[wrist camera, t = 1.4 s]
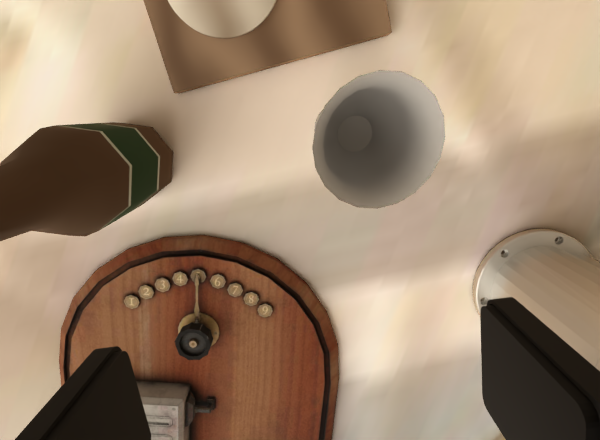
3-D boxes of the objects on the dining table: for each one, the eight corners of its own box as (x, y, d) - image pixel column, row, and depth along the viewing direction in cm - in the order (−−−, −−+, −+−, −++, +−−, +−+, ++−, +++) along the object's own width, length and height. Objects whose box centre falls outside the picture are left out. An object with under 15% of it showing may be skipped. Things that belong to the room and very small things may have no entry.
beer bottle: (191, 147, 39) (33, 199, 15) (156, 214, 40) (-32, 351, 17) (116, 104, 38) (-173, 92, 14) (84, 175, 39) (-220, 266, 16)
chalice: (348, 179, 40) (389, 231, 22) (290, 141, 39) (286, 165, 21) (391, 115, 38) (473, 118, 21) (333, 74, 37) (366, 40, 20)
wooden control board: (48, 497, 44) (20, 237, 36) (73, 457, 49) (53, 222, 41) (329, 511, 45) (360, 261, 37) (325, 471, 50) (352, 244, 42)
